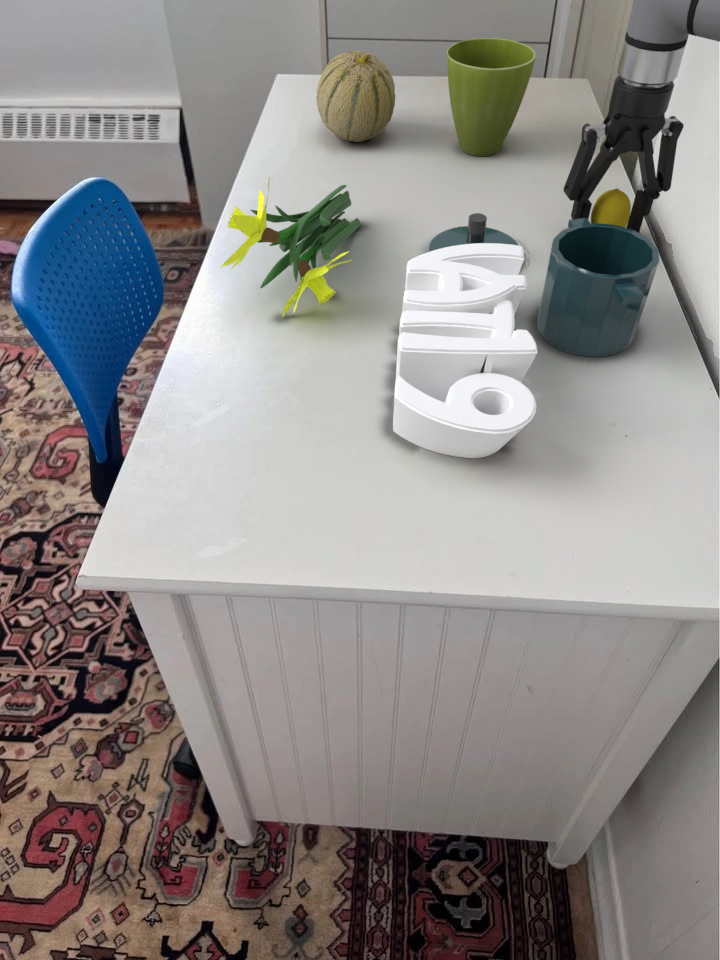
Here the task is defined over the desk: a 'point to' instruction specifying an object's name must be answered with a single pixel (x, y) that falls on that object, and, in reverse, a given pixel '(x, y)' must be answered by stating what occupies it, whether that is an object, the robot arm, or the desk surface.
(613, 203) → the lemon
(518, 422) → the wavy white extrusion
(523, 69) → the flower pot
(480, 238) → the lid
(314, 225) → the daffodil flowers
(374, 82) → the cantaloupe
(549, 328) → the pot
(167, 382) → the desk surface
